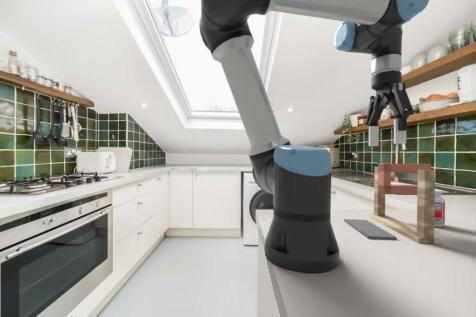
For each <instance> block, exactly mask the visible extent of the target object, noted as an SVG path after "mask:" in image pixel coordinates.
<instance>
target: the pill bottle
mask: <svg viewBox="0 0 476 317" xmlns="http://www.w3.org/2000/svg"><path fill="white" fill-rule="evenodd" d="M442 195H443V190H441V189H435V218H434V228H443V227H445V225H446V221H445V220H446V200H445V198H444V197H442Z"/></svg>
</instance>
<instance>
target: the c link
mask: <svg viewBox="0 0 476 317" xmlns="http://www.w3.org/2000/svg"><path fill="white" fill-rule="evenodd" d="M377 165H378V166H377V167H378V193H381V194H385V195H396V196H397V195H399V196H400V195H401V196H402V195H403V196H407V195H408V196H417V189H418V184H417V185H416V184H415V185H414V184H413V185H412V184H391V182H392V177H391V172H406V173H416V174H418V170H432V164H430V163H384V162H381V163H378V164H377Z"/></svg>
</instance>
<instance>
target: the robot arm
mask: <svg viewBox="0 0 476 317" xmlns="http://www.w3.org/2000/svg"><path fill="white" fill-rule="evenodd" d="M429 1H430V0H200V17H199V27H198V28H199V34H200V37H201V41H202V43H203V44H204V46H205V47H206V49H208V50H209V51H210V53H211V54H210V55H211V58H212V60H214V61H215V62H216V61H217V62H218V63H220V64H221V68H222V71H223V73H224V75H225V79H226V80H227V83H228V87H229V89H230V91H231V92H230V93H231V94H232V98H233V100H234V102H235V105H236V109H237V111H238V113H239V116H240V119H241V123H242V125H243V128H244V129H245V133H246V135H247V137H248V138H247V139H248V142H249V144H250V146H251V147H250V150H249V152H248V157H249V160H250V162H251V165H252V167H251V168H252V169H251V174H252V177H253V180H254V182H255V184H256V185H257V187H258V188H260V189H261V190H262V191H264V193H265V192H266V193H268V194H270V195H271V194H272V195H273V214H272V215H273V216H272V220H271V222H270V226H269V229H268V232H267V233H266V234H267V235H266V238H265V242H264V254H265V256H266V258H267V259H268V260H270V261H271V262H272V263H273V264H275V265H277V266H280V267H282V268H284V269H288V270H292V271H296V272H301V273H323V272H328V271H331V270H334V269H336V268H337V267H339V265H340V259H341V258H340V251H341V250H340V247H339V244H338V241H337V239H336V235H335V231H334V228H333V225H332V221H331V218H332V217H331V215H332V214H331V211H332V210H331V208H332V206H331V205H332V172H333V163H332V154H331V153H330V151H329V150H328V149H326V148H324V147H319V146H307V145H291V142H290V139H289V138H286V137H285V136H282V135H283V134H281V131H280V128H279V125H278V122H277V119H276V117H275V114H274V111H273V108H272V105H271V102H270V99H269V97H268V93H267V91H266V88H265V86H264V83H263V80H262V77H261V74H260V71H259V69H258V65H257V63H256V60H255V57H254V55H253V54H254V53H253V51H252V49H253V48H252V47H253V46H254V43H255V39H254V37H253V33H252V30H251V28H250V27H251V26H250V24H249V18H250V16H253V15H260V16H266V15H267V14H268V13H269V12H271V11H272V12H277V13H278V12H279V13H285V14H292V15H298V16H305V17H310V18H318V19H324V20H331V21H338V22H342V23H340V25H339V26H338V28H337V30H336V32H335V35H334V44H333V45H334V47H335V49H336V50H338V51H341V52H346V53H355V54H366V55H371V73H370V74H371V83H370V84H371V90H373V91H375V95H371V96H370V97H369V105H368V110H367V113H366V118H365V121H364V126H366V127H368V147H379V141H380V140H379V139H380V138H379V134H380V133H379V132H380V131H379V130H380V128H379V127H380V126H379V120H380V119H381V117H382V114H383V112H384V110H385V109H386V108H387V107H388V106H389V108H390V110H391V111H392V113H393V114H394V117H393V119H394V120H393V144H394V145H395V144H398V145H400V144H407V128H408V118H409V117H410V116H413V114H414V109H413V106H412V103H411V101H410V98H409V95H408V93H407V89H406V87H407V86H406V83H405V82H402V79H403V78H402V77H403V76H402V65H403V63H402V55H403V54H402V51H403V50H402V49H403V48H402V47H403V46H402V45H403V32H404V30H403V25H405V23H408V22H410V21H411V20H412V19H413V18H414V17H416V16H418V15H419V14H420V13H422V12H423V11H424V10H425V9H426V8H427V7H428V5H429V3H430V2H429Z"/></svg>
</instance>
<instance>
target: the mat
mask: <svg viewBox="0 0 476 317" xmlns="http://www.w3.org/2000/svg"><path fill="white" fill-rule="evenodd" d="M343 222H345V223H346V224H348V225H349V226H350V227H351V228H353V229H355V231H357V232H359V233H360V234H361V235H363V236H364V237H366V239H373V240H375V239H377V240H396V241H397V236H395V235H394V234H392V233H390V232H388V231H387V230H385V229H383V228H381V227H380V226H377V225H376V224H374V223H373V222H371V221H369V220H367V219H351V218H349V219H348V218H344V219H343Z"/></svg>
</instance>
